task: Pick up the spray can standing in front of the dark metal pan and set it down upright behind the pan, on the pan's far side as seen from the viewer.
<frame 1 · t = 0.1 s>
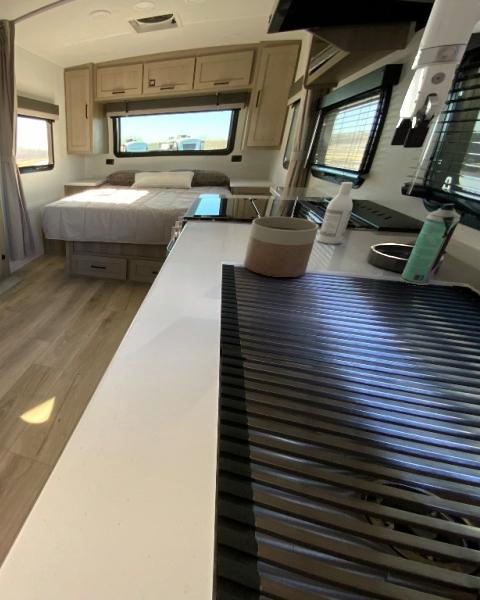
hand: (405, 146, 79), 32 cm above the worktop, tool pointing down, fingers open, 9 cm apart
spray can: (413, 282, 87), on the worktop
bath foam: (328, 242, 118), on the worktop
planter: (272, 269, 98), on the worktop
pan: (400, 265, 96), on the worktop
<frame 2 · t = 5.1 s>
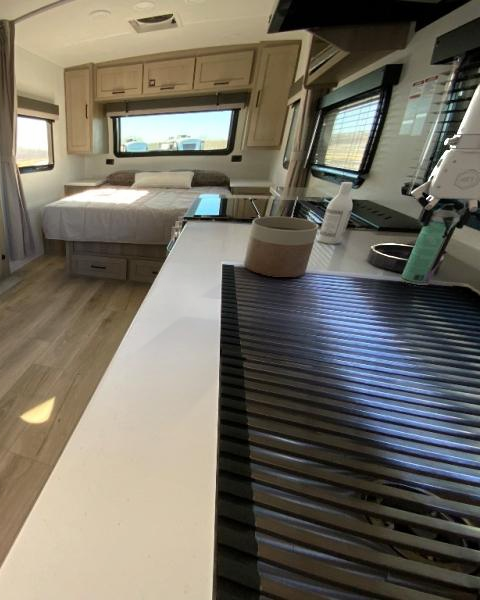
hand: (439, 225, 80), 15 cm above the worktop, tool pointing down, fingers closed on spray can, 5 cm apart
spray can: (413, 282, 87), on the worktop, touching gripper
everything else where it was.
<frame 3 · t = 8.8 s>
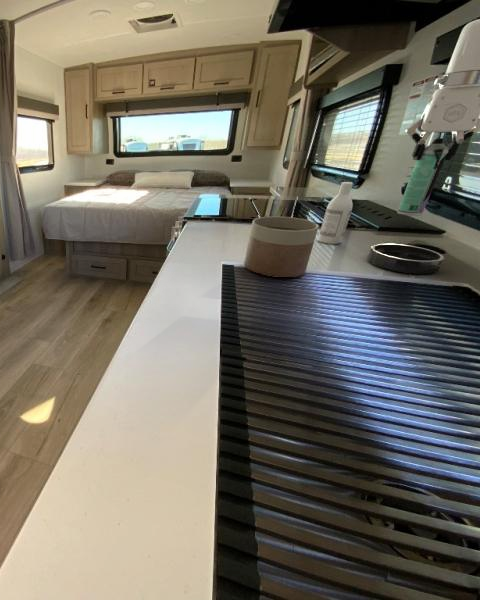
hand: (431, 159, 91), 28 cm above the worktop, tool pointing down, fingers closed on spray can, 5 cm apart
spray can: (408, 214, 97), point 13 cm above the worktop, touching gripper
everything else where it was.
when the fingers open (15 cm above the worktop, at t = 12.4 s): spray can stays where it is, on the worktop.
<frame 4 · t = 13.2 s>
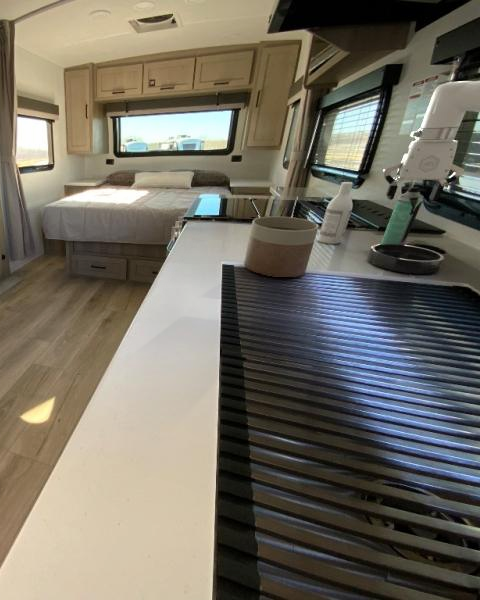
hand: (410, 199, 98), 17 cm above the worktop, tool pointing down, fingers open, 9 cm apart
spray can: (388, 252, 106), on the worktop
everything else where it was.
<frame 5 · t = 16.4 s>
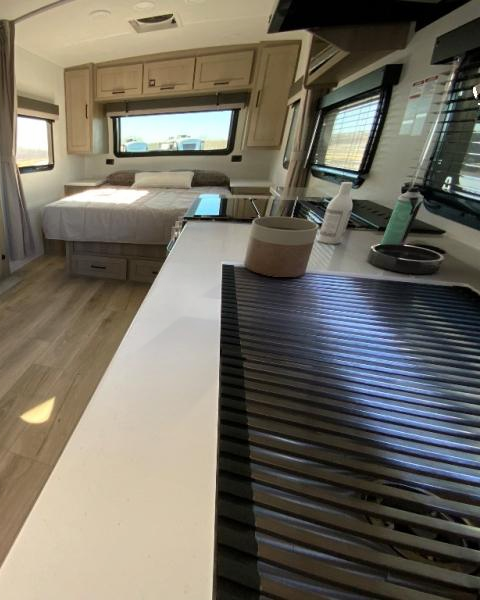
nothing on the worktop moved.
at the end: spray can inside the target area (0.8 cm from its centre), on the worktop; spray can tilted 0°; the gripper is holding nothing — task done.
